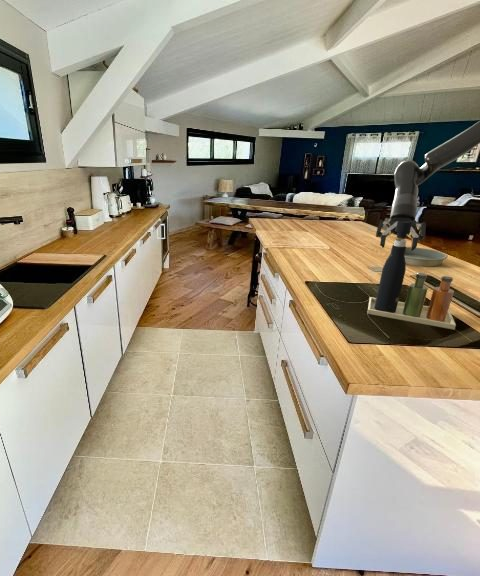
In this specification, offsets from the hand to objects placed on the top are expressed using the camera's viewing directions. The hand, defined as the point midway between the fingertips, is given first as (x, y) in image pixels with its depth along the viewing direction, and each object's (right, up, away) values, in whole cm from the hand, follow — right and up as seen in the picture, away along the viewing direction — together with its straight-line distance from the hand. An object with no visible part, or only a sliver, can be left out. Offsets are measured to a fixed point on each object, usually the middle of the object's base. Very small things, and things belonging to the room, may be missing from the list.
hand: (397, 247), depth 107 cm
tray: (+2, -23, -2) cm, 23 cm away
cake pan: (+47, 0, +56) cm, 73 cm away
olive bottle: (+3, -23, -3) cm, 23 cm away
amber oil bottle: (+8, -24, -6) cm, 26 cm away
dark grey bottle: (-4, -21, +1) cm, 22 cm away
